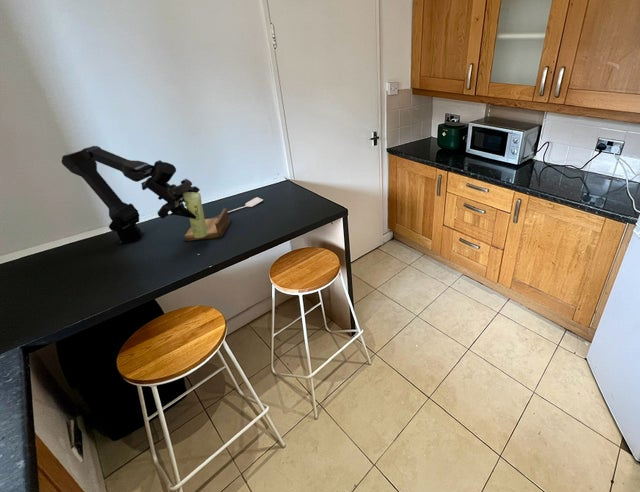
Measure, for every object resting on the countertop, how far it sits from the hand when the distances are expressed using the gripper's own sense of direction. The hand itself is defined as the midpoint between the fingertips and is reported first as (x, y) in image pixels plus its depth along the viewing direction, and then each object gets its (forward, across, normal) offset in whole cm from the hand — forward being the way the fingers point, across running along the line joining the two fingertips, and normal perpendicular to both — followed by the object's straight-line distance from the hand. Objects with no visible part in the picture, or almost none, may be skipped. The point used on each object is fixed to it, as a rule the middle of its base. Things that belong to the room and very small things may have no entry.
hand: (199, 215), depth 125 cm
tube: (+6, 0, +8) cm, 10 cm away
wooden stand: (+6, +10, +13) cm, 17 cm away
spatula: (+7, +28, +12) cm, 32 cm away
